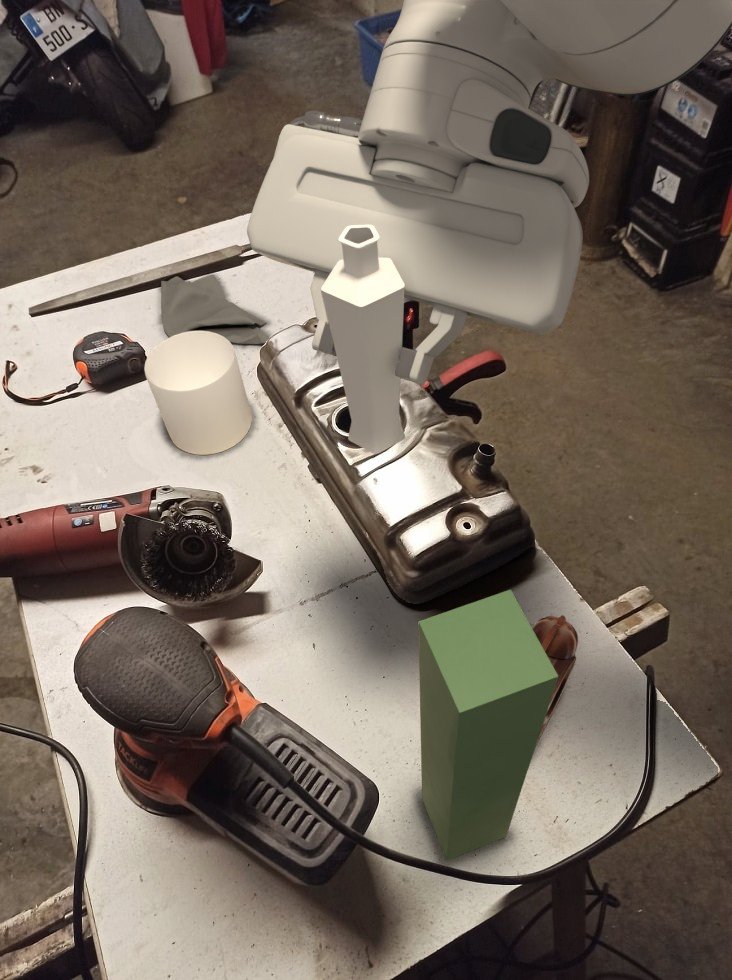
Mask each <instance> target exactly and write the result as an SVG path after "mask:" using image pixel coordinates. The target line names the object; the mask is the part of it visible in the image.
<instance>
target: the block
mask: <svg viewBox="0 0 732 980" xmlns="http://www.w3.org/2000/svg"><path fill="white" fill-rule="evenodd" d="M532 628H533V626H532V625H531V624H530V621H529V620H528V618H527V616H526V615H525V613H524V611H523V609H522V607H521V605H520V603H519V602H518V600H517V598H516V597H515V595H514V592H513V591H512V589H508V590H504V591H502V592H499V593H497V594H494V595H491V596H488V597H484V598H482V599H479V600H476V601H473V602H470V603H467V604H465V605H461V606H459V607H456V608H453V609H450V610H447V611H443V612H442V613H441V612H440V613H439V614H436V615H433V616H430V617H427V618H424V619H422V620H419V621H418V662H419V664H418V665H419V666H418V667H419V668H418V669H419V672H418V673H419V713H420V714H419V716H420V717H419V719H420V721H419V722H420V767H421V769H420V770H421V774H420V775H421V799H422V801H423V804H424V807H425V809H426V812H427V814H428V817H429V820H430V822H431V826H432V827H433V830H434V833H435V835H436V838H437V841H438V843H439V846H440V848H441V852H442V854H443V856H444V860H445V861H446V862H448V861H450V860H453V859H455V858H458V857H460V856H463V855H465V854H467V853H470V852H472V851H475V850H477V849H479V848H482V847H485V846H487V845H489V844H492V843H494V842H497V841H500V840H502V839H504V838H506V837H507V836H508V832H509V829H510V826H511V823H512V820H513V817H514V813H515V812H516V811H515V810H516V808H517V805H518V801H519V798H520V795H521V792H522V789H523V787H524V783H525V780H526V777H527V774H528V771H529V768H530V765H531V762H532V760H533V756H534V754H535V749H536V746H537V745H538V744H537V743H538V742H539V739H540V738H539V735H540V731H541V728H542V725H543V722H544V719H545V716H546V713H547V710H548V707H549V704H550V701H551V698H552V695H553V692H554V689H555V686H556V683H557V679H558V674H557V672H556V671H555V669H554V667H553V665H552V663H551V662H550V660H549V658H548V656H547V654H546V652H545V651H544V649H543V647H542V645H541V643H540V642H539V640H538V638H537V636H536V634H535V633H534V631H533V629H532ZM538 738H539V739H538Z"/></svg>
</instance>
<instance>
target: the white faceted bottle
mask: <svg viewBox="0 0 732 980" xmlns="http://www.w3.org/2000/svg"><path fill="white" fill-rule="evenodd" d="M379 238H380V236H379V234H378V233H377V231H376V229H375V227H374V226H373V225H351V226H347V227H346V228H345V229H344V231H343V232H342V234H341V235H340V237H339V239H338V240H339V242H341V243H342V251H343V260H339V261H338V262H337V264H336V265H335V267H334V268H333V270H332V272H331V273H330V275H329V276H328V278H327V279H326V281H325V282H324V284H323V286H322V287H321V291H322V295H323V299H324V304H325V308H326V312H327V317H328V321H329V325H330V330H331V334H332V338H333V343H334V347H335V351H336V355H337V357H336V359H337V364H338V368H339V372H340V377H341V381H342V386H343V390H344V394H345V399H346V402H347V407H348V412H349V416H350V419H351V423H350V427H349V430H348V431H349V432H348V437H347V440H348V441H349V442H351V443H353V444H354V445H357V446H359V447H360V448H362V449H364V450H365V451H368V452H370V453H372V454H373V455H378V454H380V453H382V452H384V451H386V450H387V449H389V448H391V447H393V446H395V445H396V444H399V443H400V442H402V441H403V440H405V439H406V434H405V432H404V428H403V426H402V423H401V420H400V405H401V403H400V402H401V401H400V400H401V381H402V380H401V379H402V378H400V377H397V376H395V369H396V366H397V365H398V364H399V363H400V359H399V357H400V353H401V350H402V347H403V333H404V313H405V312H404V308H405V298H404V289H405V285H404V282H403V280H402V279H401V277H400V275H399V273H398V271H397V269H396V267H395V265H394V264H393V262H392V260H391V259H390V258H378V245H377V241H378V240H379Z"/></svg>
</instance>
